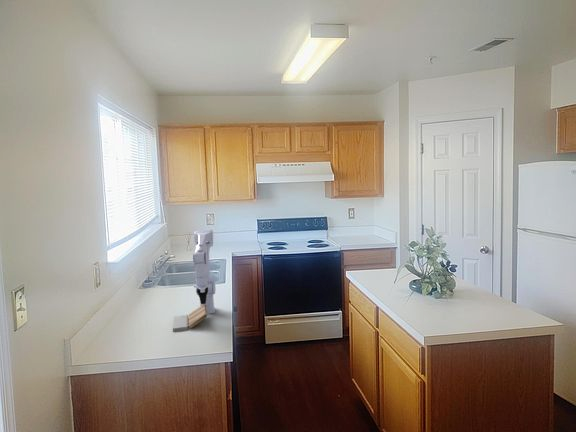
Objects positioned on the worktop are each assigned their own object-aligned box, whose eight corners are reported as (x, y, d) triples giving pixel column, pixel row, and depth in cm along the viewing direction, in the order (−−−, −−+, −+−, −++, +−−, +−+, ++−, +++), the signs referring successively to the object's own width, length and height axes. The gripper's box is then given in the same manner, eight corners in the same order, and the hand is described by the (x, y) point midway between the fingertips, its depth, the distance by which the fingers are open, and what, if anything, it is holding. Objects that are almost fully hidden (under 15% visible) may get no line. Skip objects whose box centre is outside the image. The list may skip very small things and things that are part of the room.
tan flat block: (190, 316, 221) (188, 314, 220) (206, 305, 222) (204, 303, 222) (190, 328, 203) (188, 326, 203) (207, 316, 204) (205, 314, 204)
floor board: (174, 319, 219) (174, 316, 219) (188, 317, 220) (188, 314, 220) (172, 331, 201) (172, 328, 201) (188, 329, 203) (187, 326, 203)
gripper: (193, 273, 217) (194, 299, 219) (193, 280, 203) (195, 308, 204) (207, 272, 219) (208, 298, 220) (208, 278, 205) (210, 306, 206)
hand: (203, 303), depth 212 cm, fingers closed
